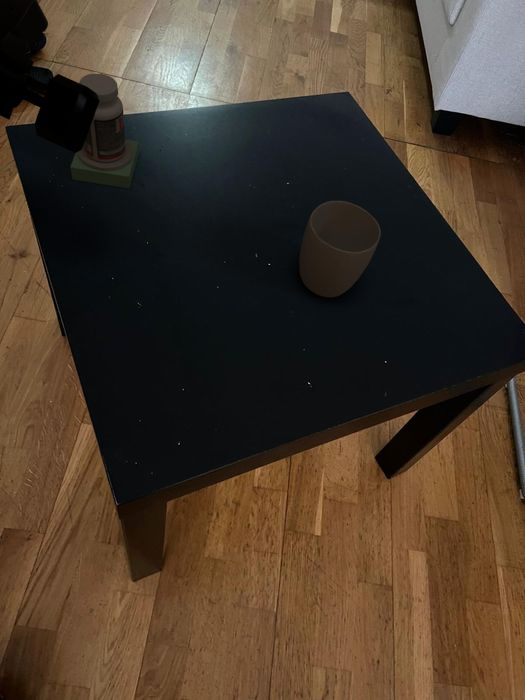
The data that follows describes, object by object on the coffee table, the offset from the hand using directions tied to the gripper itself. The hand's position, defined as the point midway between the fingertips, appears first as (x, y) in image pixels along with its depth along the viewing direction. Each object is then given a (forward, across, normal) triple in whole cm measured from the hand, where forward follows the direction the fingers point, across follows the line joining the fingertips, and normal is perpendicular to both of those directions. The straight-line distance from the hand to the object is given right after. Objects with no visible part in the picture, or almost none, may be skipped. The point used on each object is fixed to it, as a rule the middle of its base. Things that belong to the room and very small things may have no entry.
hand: (52, 112), depth 62 cm
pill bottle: (+14, 0, +1) cm, 14 cm away
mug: (+16, -36, +3) cm, 39 cm away
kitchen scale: (+16, 0, +3) cm, 16 cm away
